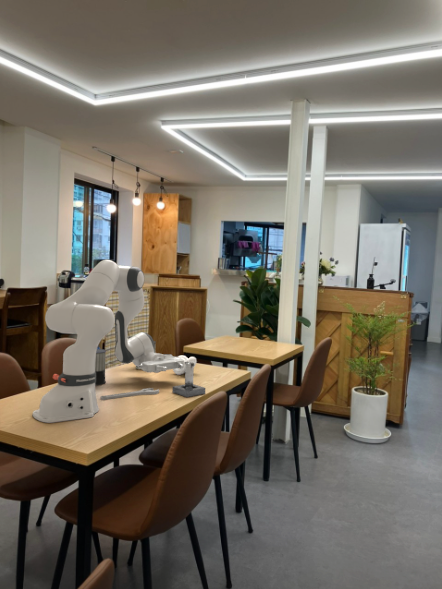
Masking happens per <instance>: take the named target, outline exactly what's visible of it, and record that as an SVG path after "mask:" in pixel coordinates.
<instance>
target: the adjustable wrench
mask: <svg viewBox="0 0 442 589" xmlns="http://www.w3.org/2000/svg"><path fill="white" fill-rule="evenodd" d="M159 393H160V389H159V388H158V389H155V390H154V387H148V388H142V389H140V390H135V391H127V392H121V393H120V392H119V393H113V394H108V395H100V396H99V397H100V400H101V401H106V400H113V399H120V398H128V397H134V396H141V395H146V396H147V395H148V396H149V395H158V394H159Z"/></svg>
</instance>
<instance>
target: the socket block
mask: <svg viewBox="0 0 442 589" xmlns="http://www.w3.org/2000/svg"><path fill="white" fill-rule="evenodd" d="M171 389H172V390H171V391H172V393H173V394H177V395H179V396H182V397H184V398H190V397H191V398H192V397H195V396H200V395H205V394H206V387H203V386H200V385H198V384H194V383H193V389H185V383H184V384H180V385H174V386H172V388H171Z"/></svg>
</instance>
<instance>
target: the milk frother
mask: <svg viewBox="0 0 442 589" xmlns="http://www.w3.org/2000/svg"><path fill="white" fill-rule="evenodd" d="M106 352H107V350H106V349H103V348H102V349H100V348H97V351H96V359H95V372H96V386H100V385H104V384H106Z"/></svg>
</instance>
